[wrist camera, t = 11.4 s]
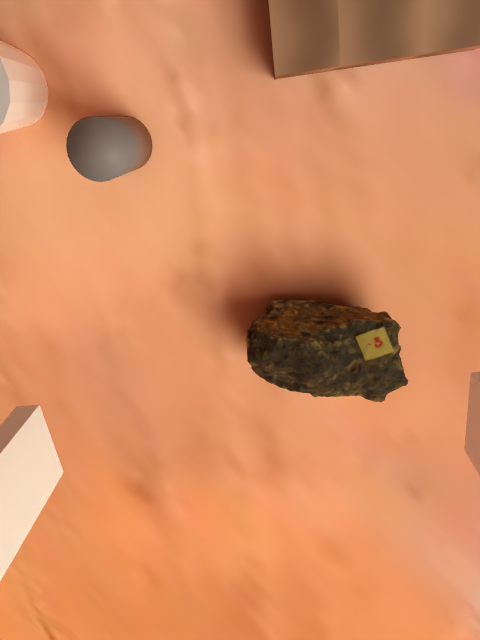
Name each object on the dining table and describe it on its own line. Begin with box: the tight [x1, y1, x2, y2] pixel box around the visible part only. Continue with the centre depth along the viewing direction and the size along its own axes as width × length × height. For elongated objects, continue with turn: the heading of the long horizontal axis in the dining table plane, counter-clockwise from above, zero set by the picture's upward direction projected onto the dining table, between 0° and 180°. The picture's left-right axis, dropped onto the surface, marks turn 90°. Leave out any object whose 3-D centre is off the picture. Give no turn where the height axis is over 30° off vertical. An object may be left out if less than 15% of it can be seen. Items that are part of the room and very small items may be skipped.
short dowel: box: [66, 116, 152, 182], centre depth 33 cm, size 4×4×7 cm
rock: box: [246, 300, 408, 402], centre depth 39 cm, size 12×9×8 cm
